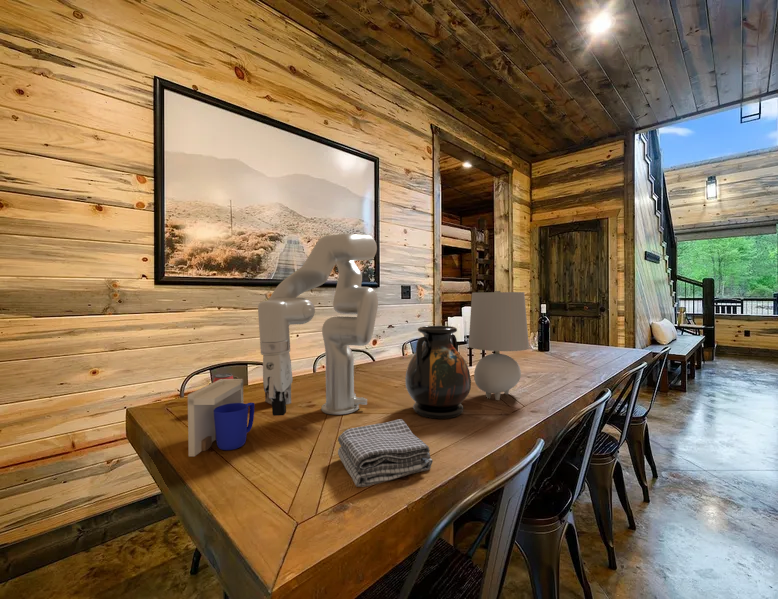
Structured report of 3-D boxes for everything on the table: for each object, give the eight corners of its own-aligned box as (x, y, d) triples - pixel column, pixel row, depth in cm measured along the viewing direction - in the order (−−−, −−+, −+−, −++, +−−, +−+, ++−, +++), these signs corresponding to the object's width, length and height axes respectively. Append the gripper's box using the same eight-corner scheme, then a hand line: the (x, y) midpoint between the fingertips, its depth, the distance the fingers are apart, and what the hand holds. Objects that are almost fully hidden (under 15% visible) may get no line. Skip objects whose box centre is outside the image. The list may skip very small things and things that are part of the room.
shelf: (243, 430, 100) (242, 378, 100) (215, 456, 84) (214, 394, 84) (221, 430, 100) (220, 379, 100) (188, 456, 84) (187, 394, 84)
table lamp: (490, 386, 147) (489, 291, 147) (541, 396, 131) (540, 290, 131) (457, 397, 132) (456, 291, 131) (510, 410, 116) (509, 290, 115)
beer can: (238, 407, 123) (237, 372, 122) (227, 413, 116) (227, 377, 116) (220, 406, 123) (220, 372, 123) (209, 412, 117) (208, 377, 117)
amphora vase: (442, 429, 100) (441, 332, 100) (392, 411, 117) (391, 327, 116) (484, 412, 115) (484, 327, 114) (435, 398, 131) (434, 323, 131)
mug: (265, 436, 96) (264, 400, 96) (232, 455, 85) (231, 414, 85) (241, 432, 99) (241, 397, 99) (206, 450, 88) (205, 411, 88)
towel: (335, 460, 82) (335, 427, 82) (405, 446, 90) (404, 415, 90) (356, 493, 68) (355, 453, 68) (436, 473, 76) (436, 437, 76)
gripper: (280, 352, 85) (284, 425, 86) (297, 341, 100) (300, 403, 101) (249, 353, 85) (254, 426, 86) (271, 342, 100) (275, 404, 101)
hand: (279, 414), depth 94 cm, fingers closed
